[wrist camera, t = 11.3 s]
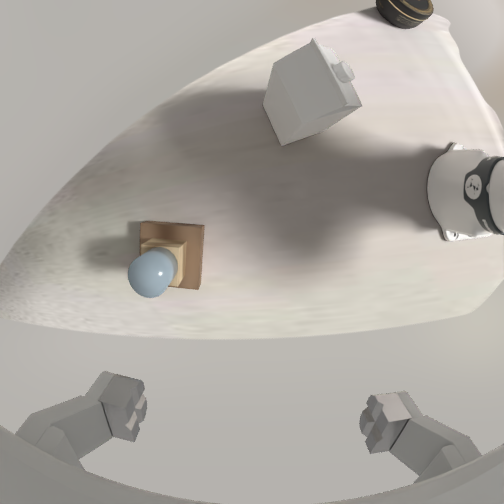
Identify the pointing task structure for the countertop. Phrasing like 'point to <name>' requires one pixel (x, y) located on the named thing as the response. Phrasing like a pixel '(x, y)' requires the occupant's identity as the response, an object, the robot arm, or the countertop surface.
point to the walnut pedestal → (184, 233)
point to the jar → (405, 11)
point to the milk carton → (309, 93)
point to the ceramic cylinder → (153, 272)
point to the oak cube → (176, 248)
